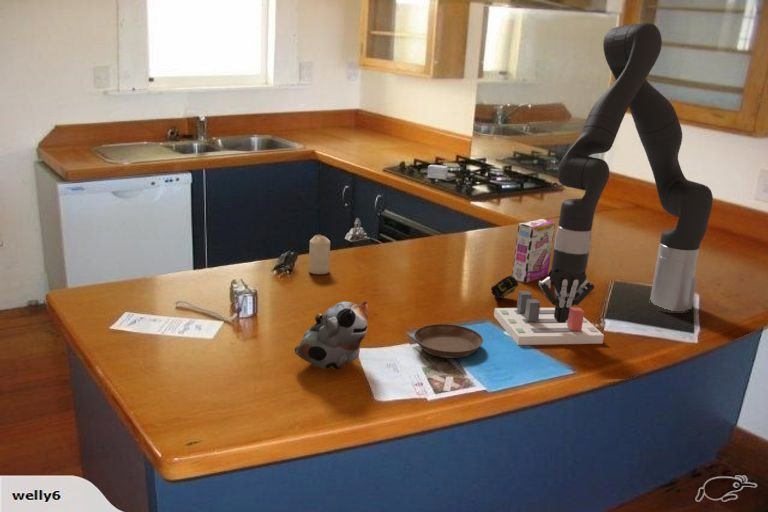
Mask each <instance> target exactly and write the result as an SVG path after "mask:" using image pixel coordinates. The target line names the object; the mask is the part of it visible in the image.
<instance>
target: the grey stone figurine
mask: <svg viewBox="0 0 768 512" xmlns="http://www.w3.org/2000/svg"><path fill="white" fill-rule="evenodd" d="M361 224H362V222H361V220H360V218H359V217H356V218H355V221H354V227H352V228H351V229H350V230H349V232H347V233H346V235H345V237H344V240H346V241H349V242H351V243H352V242H358V241H363V240H365V241H366V240H370V239H371V238H370V237H369V236H368V234H367V233H366V232H365V230H364V228H363V227H361Z"/></svg>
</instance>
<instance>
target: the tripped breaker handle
mask: <svg viewBox="0 0 768 512" xmlns="http://www.w3.org/2000/svg"><path fill="white" fill-rule="evenodd" d="M584 315H585V310H583V308H581V307H570V311H569V317H568V323H567V327H568V328H569V329H570V330H582V323H583V317H585V316H584Z"/></svg>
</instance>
